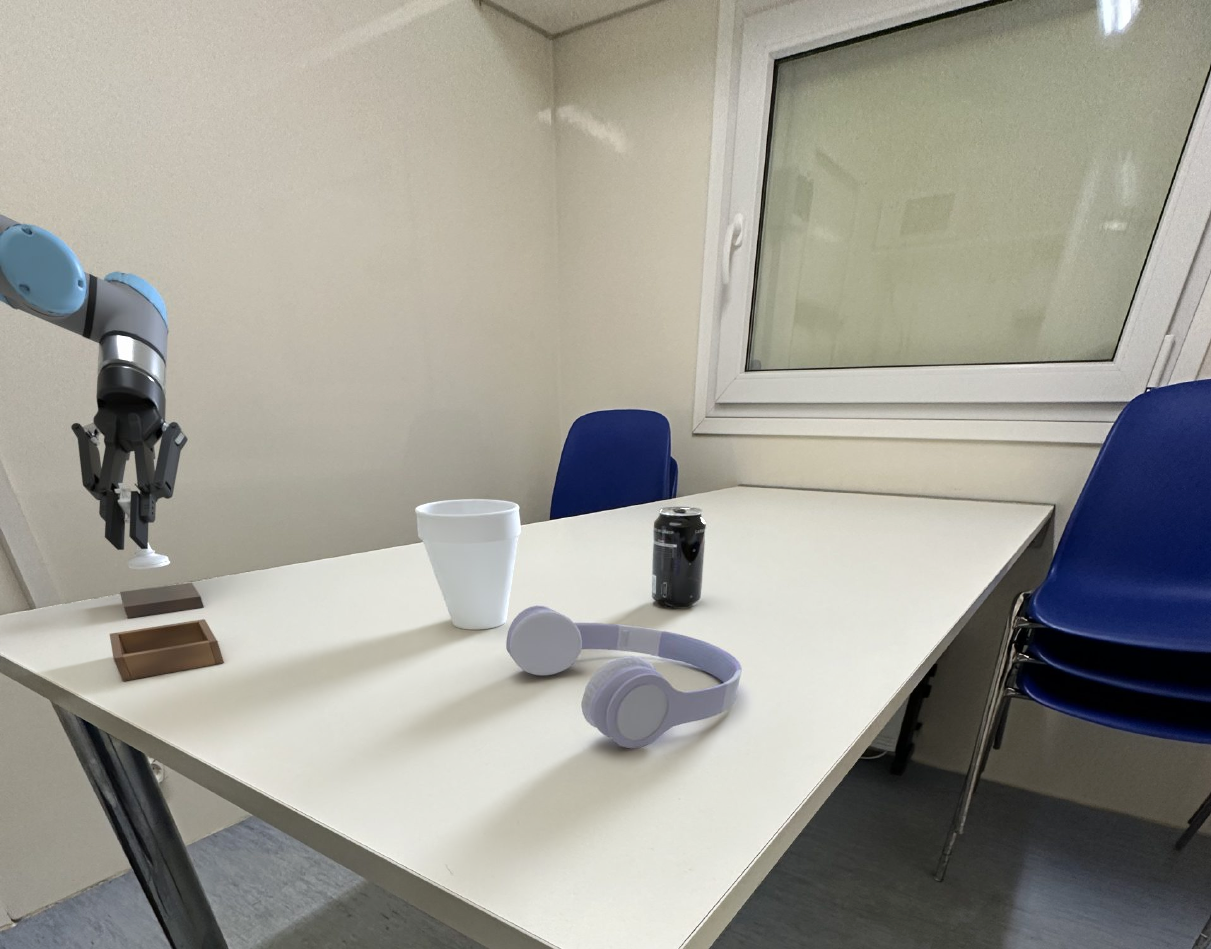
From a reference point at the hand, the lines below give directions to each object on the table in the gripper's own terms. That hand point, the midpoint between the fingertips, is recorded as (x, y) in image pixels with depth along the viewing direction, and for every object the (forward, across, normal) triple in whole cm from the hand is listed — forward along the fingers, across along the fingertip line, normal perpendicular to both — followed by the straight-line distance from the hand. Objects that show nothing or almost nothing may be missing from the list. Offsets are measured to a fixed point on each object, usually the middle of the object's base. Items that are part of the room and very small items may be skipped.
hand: (126, 542), depth 85 cm
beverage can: (+12, -70, -1) cm, 71 cm away
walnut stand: (+4, 0, -9) cm, 10 cm away
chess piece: (0, 0, -5) cm, 5 cm away
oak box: (+20, -9, +8) cm, 23 cm away
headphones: (+33, -59, +20) cm, 70 cm away
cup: (+14, -43, +1) cm, 46 cm away
